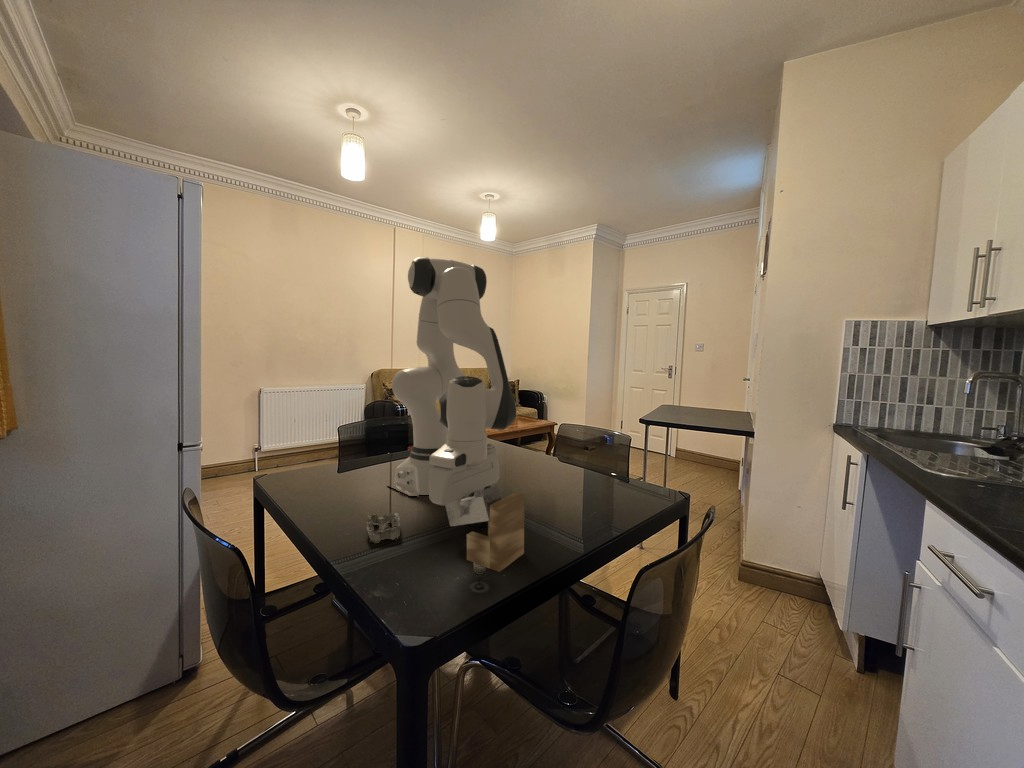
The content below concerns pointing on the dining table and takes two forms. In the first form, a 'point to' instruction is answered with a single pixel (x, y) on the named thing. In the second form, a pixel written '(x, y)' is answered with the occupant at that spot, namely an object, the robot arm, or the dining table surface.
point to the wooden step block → (500, 535)
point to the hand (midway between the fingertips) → (467, 512)
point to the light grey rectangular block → (474, 507)
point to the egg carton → (383, 526)
